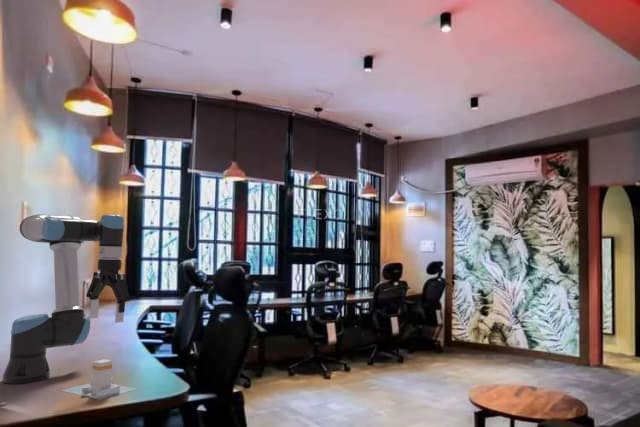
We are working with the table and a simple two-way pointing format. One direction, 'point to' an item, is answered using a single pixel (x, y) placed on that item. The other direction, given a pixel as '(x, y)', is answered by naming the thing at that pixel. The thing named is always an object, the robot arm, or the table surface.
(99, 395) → the end holder
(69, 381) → the table surface
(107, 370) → the white bottle
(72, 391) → the board
